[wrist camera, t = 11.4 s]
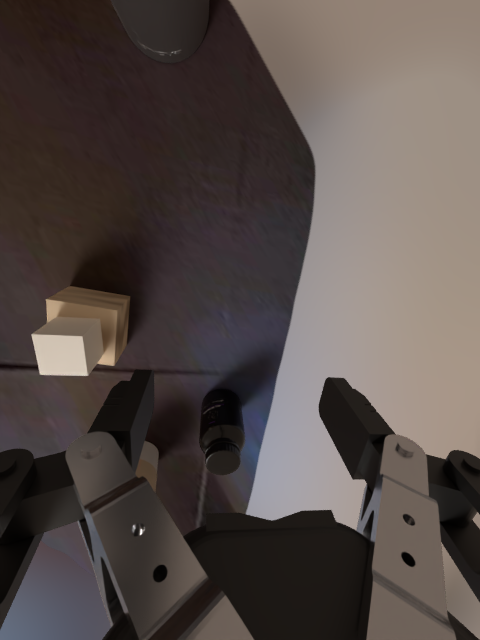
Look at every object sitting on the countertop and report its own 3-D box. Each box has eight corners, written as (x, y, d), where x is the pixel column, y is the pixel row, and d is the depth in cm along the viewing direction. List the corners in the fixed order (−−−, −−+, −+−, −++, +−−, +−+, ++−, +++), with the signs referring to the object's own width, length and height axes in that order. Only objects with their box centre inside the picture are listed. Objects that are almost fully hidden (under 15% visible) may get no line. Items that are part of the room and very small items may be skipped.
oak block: (70, 285, 38) (46, 299, 32) (130, 295, 39) (117, 310, 33) (71, 336, 40) (48, 357, 35) (127, 344, 42) (114, 365, 36)
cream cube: (56, 316, 33) (31, 334, 28) (100, 318, 34) (82, 336, 29) (62, 352, 35) (40, 374, 30) (103, 354, 35) (87, 375, 31)
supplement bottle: (210, 382, 46) (210, 438, 35) (246, 394, 47) (257, 451, 36) (195, 412, 48) (190, 474, 37) (230, 423, 50) (235, 485, 38)
